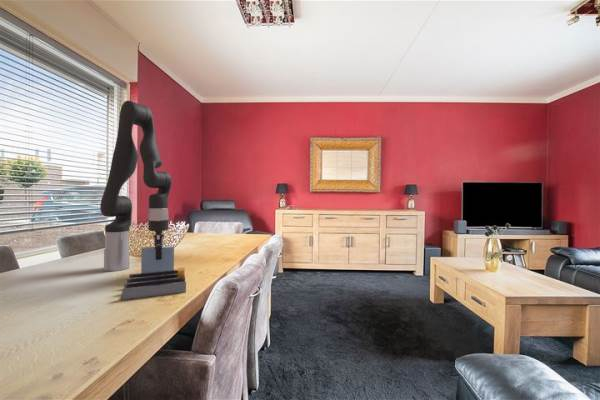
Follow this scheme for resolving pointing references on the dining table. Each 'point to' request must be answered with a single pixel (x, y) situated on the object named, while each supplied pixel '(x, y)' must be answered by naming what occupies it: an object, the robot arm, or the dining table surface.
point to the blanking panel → (155, 265)
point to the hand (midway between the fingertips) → (159, 257)
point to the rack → (154, 284)
